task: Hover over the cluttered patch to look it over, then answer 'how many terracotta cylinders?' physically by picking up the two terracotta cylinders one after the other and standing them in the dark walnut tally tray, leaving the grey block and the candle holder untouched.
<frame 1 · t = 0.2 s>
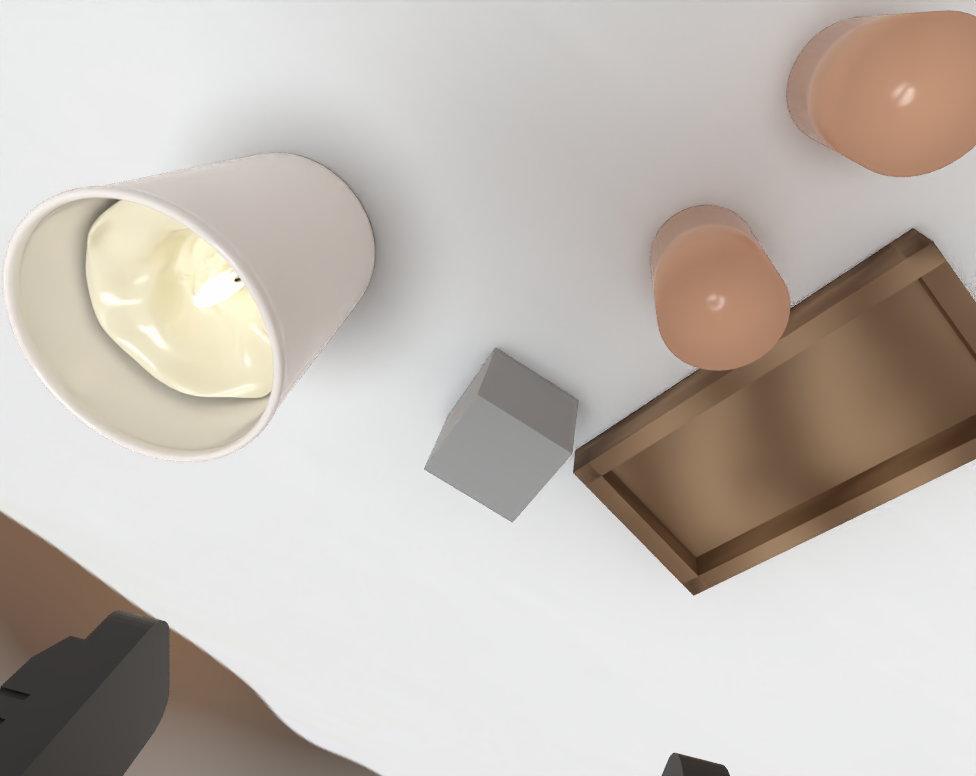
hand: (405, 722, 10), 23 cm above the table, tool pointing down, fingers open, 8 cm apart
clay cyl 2: (701, 255, 29), on the table
tally tray: (783, 426, 32), on the table
candle holder: (296, 239, 32), on the table
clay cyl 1: (848, 82, 25), on the table
grey block: (511, 407, 35), on the table
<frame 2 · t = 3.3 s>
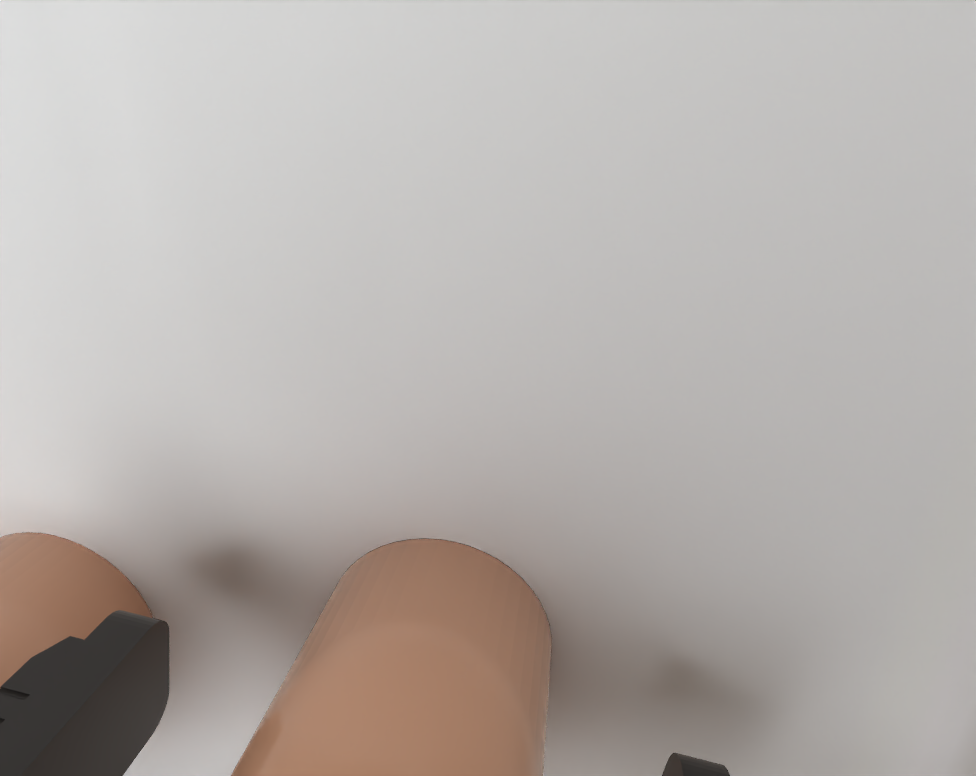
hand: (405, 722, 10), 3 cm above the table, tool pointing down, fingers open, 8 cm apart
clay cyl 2: (62, 620, 14), on the table, touching gripper
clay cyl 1: (438, 635, 13), on the table
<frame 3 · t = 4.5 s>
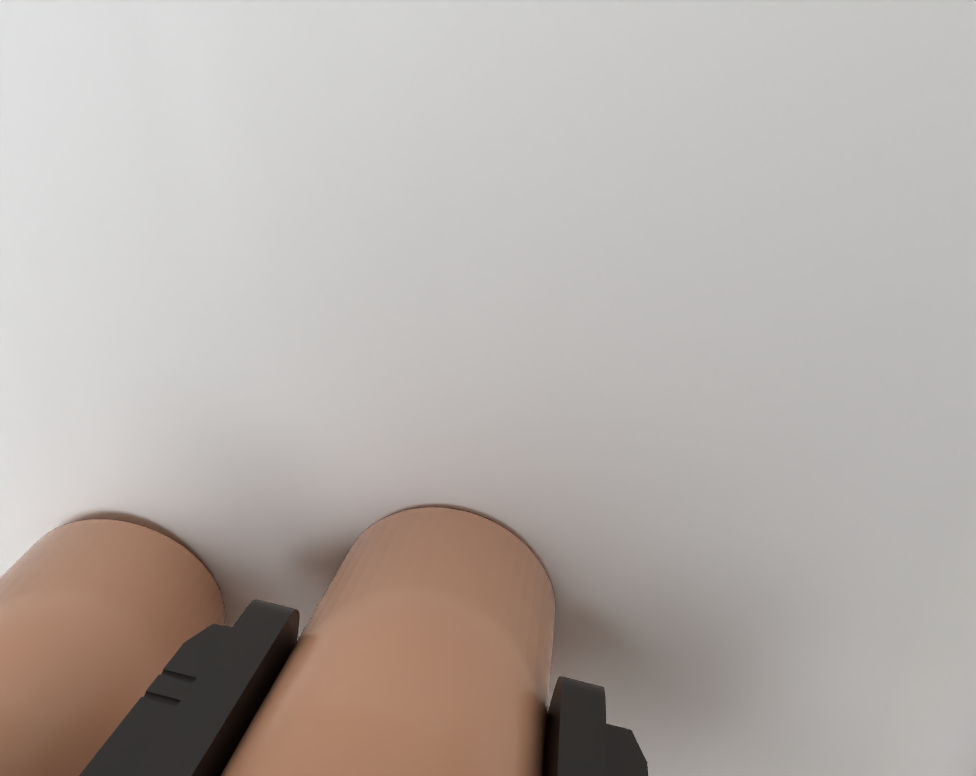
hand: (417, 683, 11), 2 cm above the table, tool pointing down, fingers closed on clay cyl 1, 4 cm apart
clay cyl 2: (125, 601, 15), on the table, tilted 8°, touching gripper, hand
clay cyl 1: (445, 601, 13), on the table, touching gripper
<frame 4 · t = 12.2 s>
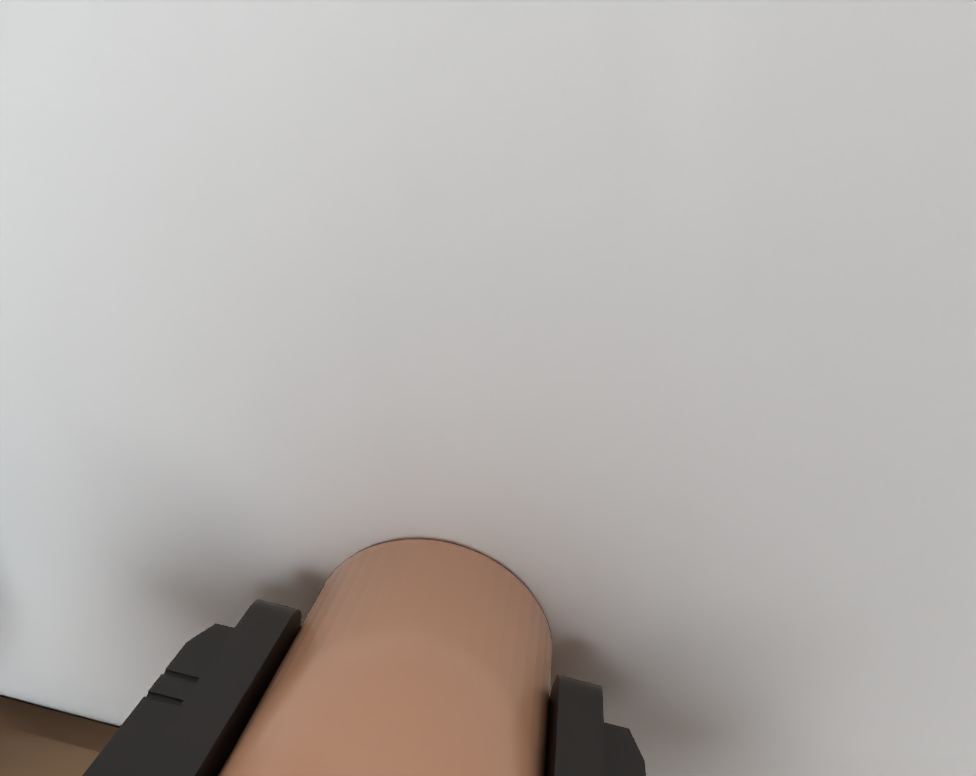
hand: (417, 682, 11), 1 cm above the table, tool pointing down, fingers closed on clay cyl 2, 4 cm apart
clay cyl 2: (431, 640, 12), on the table, touching gripper
when the fingers open (3 cm above the table, at t = 16.7 s): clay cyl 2 stays where it is, resting on tally tray.
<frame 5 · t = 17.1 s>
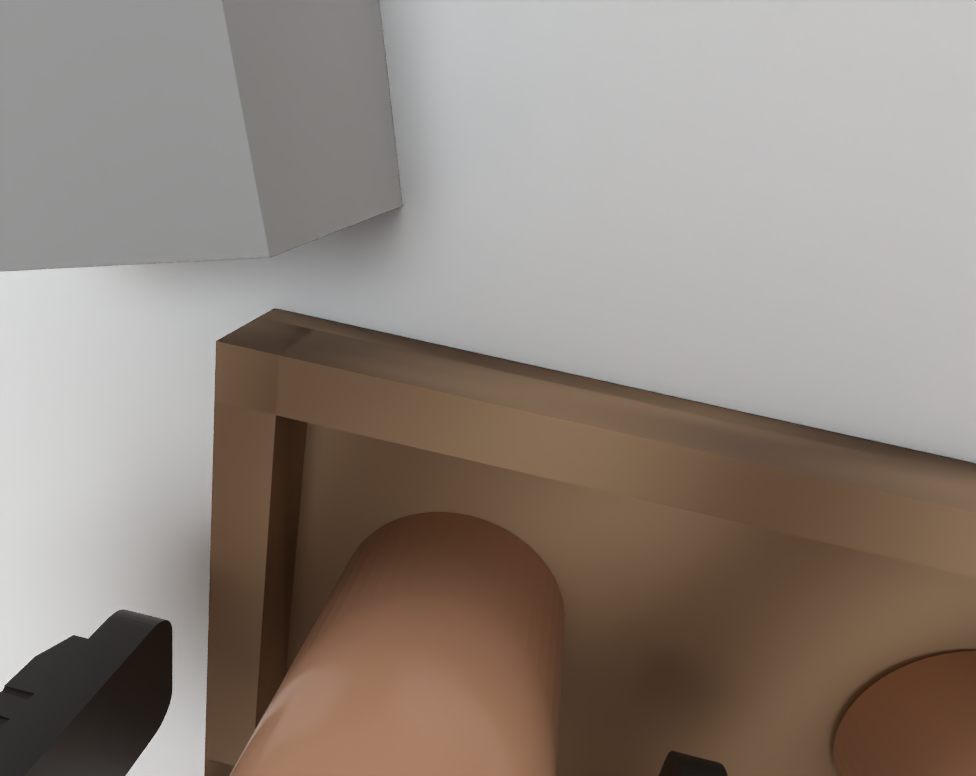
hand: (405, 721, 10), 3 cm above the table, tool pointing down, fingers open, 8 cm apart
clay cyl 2: (451, 609, 13), point 1 cm above the table, touching tally tray
tally tray: (691, 644, 13), on the table
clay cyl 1: (958, 747, 12), point 1 cm above the table, touching tally tray
grey block: (232, 52, 10), on the table
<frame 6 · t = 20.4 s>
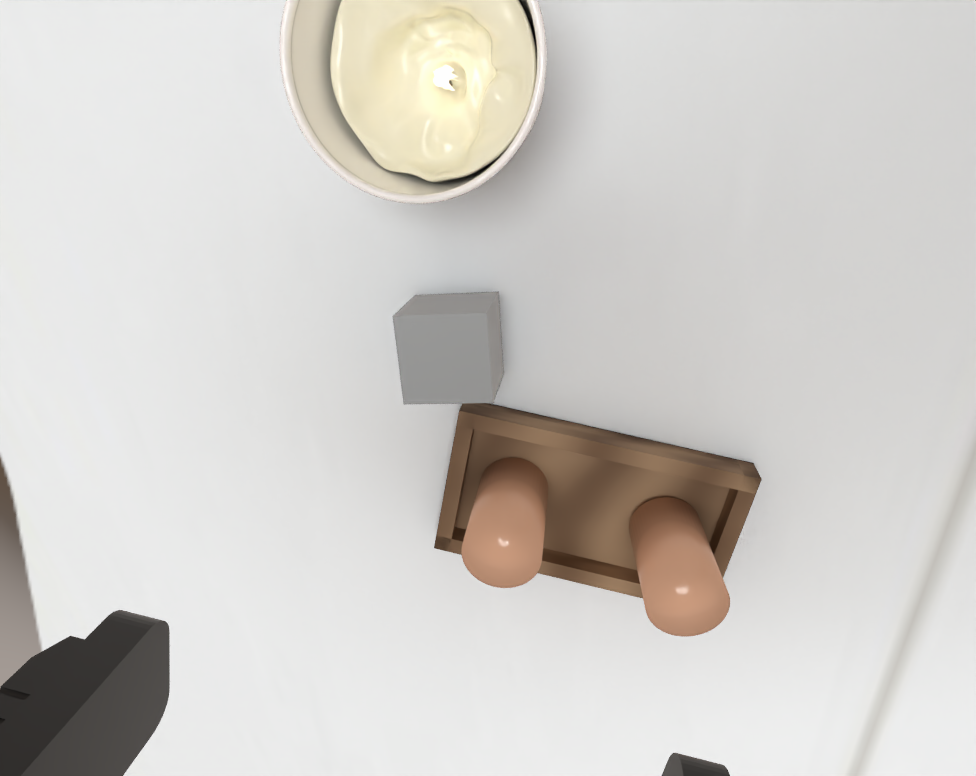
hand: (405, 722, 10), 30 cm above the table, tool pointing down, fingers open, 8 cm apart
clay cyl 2: (513, 488, 42), point 1 cm above the table, touching tally tray
tally tray: (587, 499, 42), on the table
candle holder: (465, 85, 35), on the table
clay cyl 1: (664, 527, 42), point 1 cm above the table, touching tally tray
grey block: (460, 333, 40), on the table
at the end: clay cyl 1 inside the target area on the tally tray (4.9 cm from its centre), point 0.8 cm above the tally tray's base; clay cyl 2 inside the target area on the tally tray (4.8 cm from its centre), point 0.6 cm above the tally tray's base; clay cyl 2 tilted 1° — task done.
